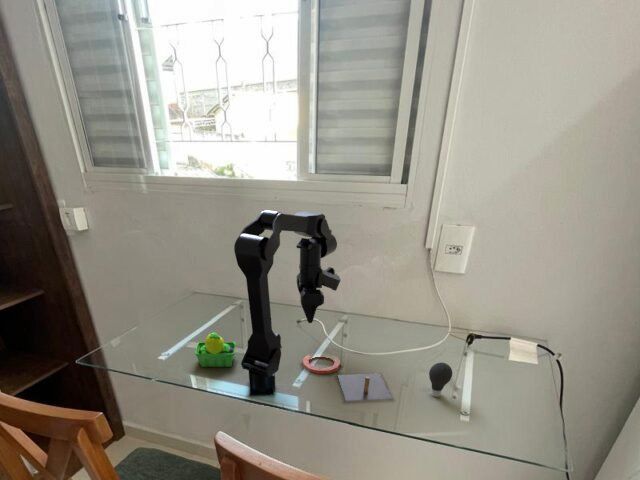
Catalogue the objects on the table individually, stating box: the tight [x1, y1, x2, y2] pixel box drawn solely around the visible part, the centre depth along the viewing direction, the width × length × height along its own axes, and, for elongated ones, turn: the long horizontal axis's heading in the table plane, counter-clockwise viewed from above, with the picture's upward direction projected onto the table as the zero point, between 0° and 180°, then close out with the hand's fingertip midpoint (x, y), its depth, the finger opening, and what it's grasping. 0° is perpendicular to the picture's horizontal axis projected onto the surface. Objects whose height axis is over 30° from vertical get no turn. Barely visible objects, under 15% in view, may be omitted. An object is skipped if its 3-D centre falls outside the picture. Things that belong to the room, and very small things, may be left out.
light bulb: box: [428, 362, 453, 398], centre depth 107 cm, size 6×6×10 cm
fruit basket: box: [194, 332, 236, 368], centre depth 121 cm, size 11×9×11 cm
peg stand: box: [337, 373, 393, 402], centre depth 112 cm, size 12×13×5 cm
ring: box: [302, 354, 341, 375], centre depth 123 cm, size 11×11×2 cm
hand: (308, 316), depth 123 cm, fingers open, 9 cm apart
